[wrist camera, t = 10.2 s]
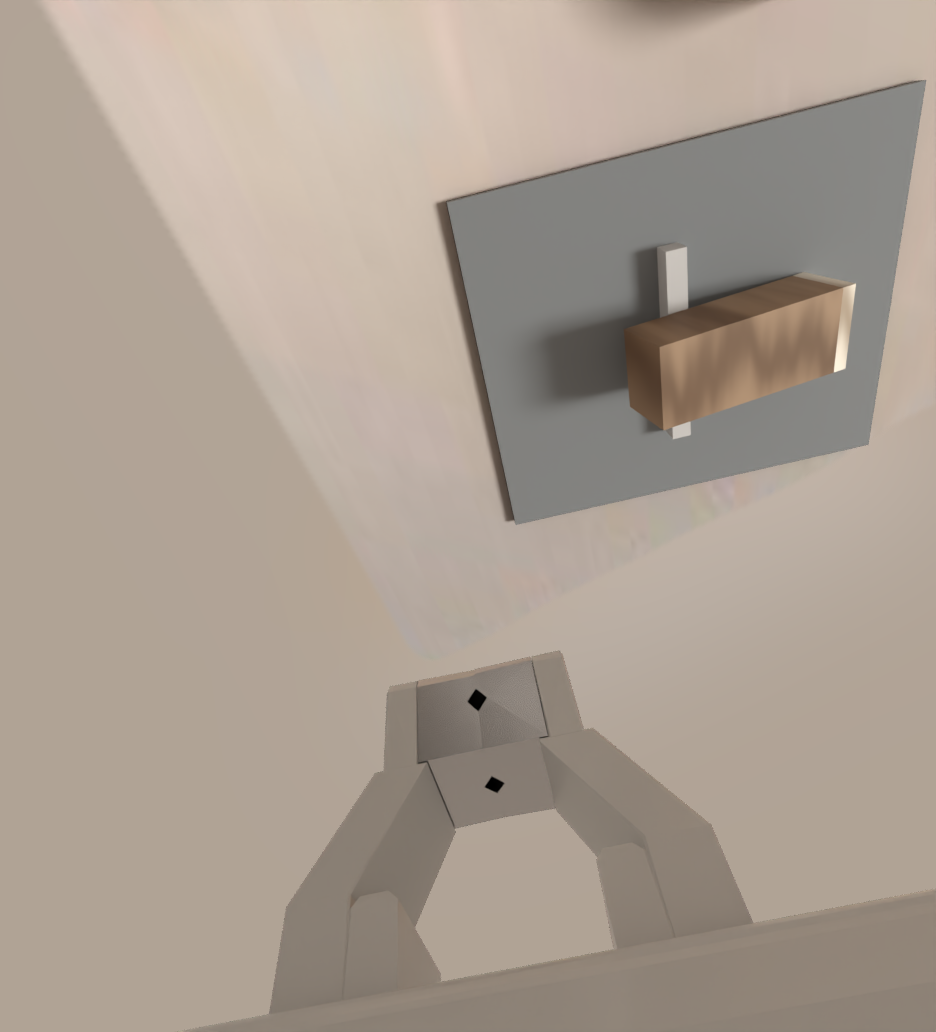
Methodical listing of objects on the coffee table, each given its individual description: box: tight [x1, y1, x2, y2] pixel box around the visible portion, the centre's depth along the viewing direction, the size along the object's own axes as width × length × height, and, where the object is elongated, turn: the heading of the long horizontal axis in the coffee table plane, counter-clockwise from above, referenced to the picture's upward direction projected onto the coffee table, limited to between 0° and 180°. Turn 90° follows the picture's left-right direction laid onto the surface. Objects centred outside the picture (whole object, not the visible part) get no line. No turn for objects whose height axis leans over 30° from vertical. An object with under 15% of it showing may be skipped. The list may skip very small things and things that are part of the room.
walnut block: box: [624, 272, 856, 430], centre depth 37 cm, size 5×4×12 cm
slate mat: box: [446, 80, 926, 525], centre depth 39 cm, size 22×26×2 cm
